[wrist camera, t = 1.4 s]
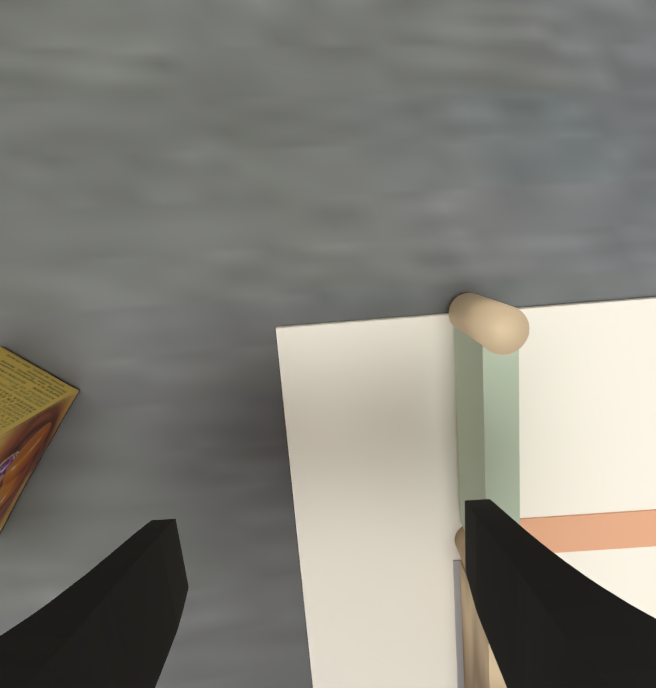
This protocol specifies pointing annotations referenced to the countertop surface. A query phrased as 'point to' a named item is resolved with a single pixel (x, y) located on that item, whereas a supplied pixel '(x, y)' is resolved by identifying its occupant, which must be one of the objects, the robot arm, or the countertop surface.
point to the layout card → (443, 476)
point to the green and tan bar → (488, 400)
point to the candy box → (26, 422)
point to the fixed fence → (475, 636)
